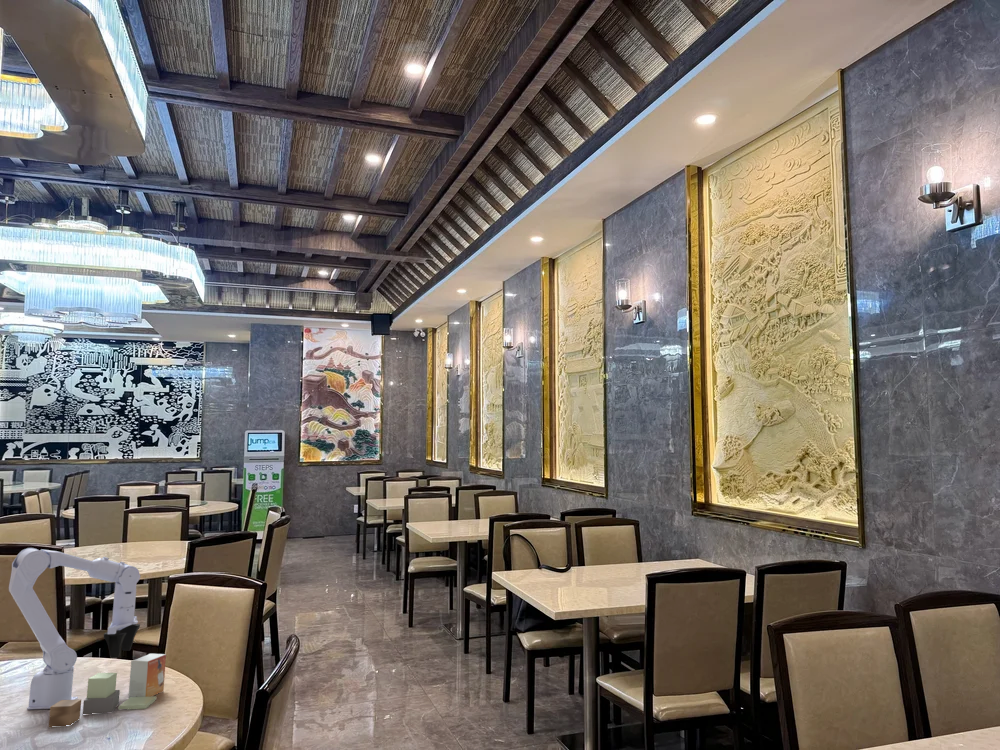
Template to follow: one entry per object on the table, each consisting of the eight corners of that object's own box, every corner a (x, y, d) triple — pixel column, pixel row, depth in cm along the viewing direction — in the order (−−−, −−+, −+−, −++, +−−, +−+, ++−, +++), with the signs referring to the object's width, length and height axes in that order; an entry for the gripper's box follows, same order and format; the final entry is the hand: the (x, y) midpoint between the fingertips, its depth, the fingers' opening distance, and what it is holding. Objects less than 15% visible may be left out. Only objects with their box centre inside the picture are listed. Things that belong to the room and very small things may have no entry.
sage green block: (86, 698, 177) (88, 678, 178) (96, 692, 182) (98, 673, 183) (105, 697, 178) (107, 678, 178) (115, 691, 183) (116, 672, 183)
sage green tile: (118, 709, 179) (118, 705, 179) (130, 700, 186) (130, 697, 186) (145, 708, 180) (145, 704, 180) (156, 700, 187) (156, 696, 187)
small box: (144, 700, 186) (147, 661, 188) (127, 699, 187) (130, 660, 189) (164, 691, 194) (166, 653, 196) (147, 690, 195) (150, 652, 197)
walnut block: (48, 727, 167) (50, 706, 168) (59, 720, 172) (61, 700, 173) (69, 727, 167) (71, 706, 168) (79, 719, 172) (81, 699, 173)
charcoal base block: (82, 716, 175) (83, 700, 176) (90, 707, 182) (91, 692, 182) (112, 713, 177) (113, 697, 178) (118, 704, 184) (119, 689, 184)
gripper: (127, 611, 191) (123, 660, 189) (148, 601, 206) (145, 647, 204) (101, 611, 191) (97, 661, 189) (124, 601, 205) (121, 647, 203)
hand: (120, 653), depth 196 cm, fingers open, 7 cm apart
